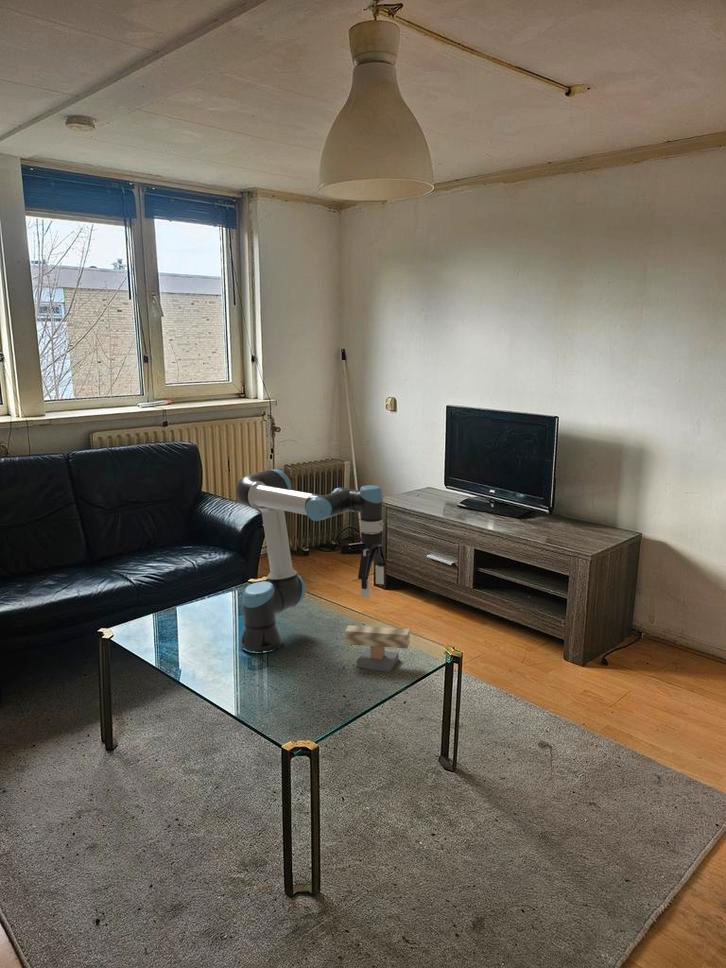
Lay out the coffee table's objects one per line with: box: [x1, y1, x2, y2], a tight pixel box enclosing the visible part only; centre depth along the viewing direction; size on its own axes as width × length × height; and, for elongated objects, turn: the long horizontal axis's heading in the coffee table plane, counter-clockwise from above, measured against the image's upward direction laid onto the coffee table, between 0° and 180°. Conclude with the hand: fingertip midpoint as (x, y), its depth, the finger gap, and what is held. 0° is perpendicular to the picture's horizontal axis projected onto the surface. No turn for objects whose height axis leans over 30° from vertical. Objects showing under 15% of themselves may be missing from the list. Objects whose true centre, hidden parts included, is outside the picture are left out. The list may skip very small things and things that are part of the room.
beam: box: [344, 624, 411, 650], centre depth 240 cm, size 22×5×5 cm, turn 78°
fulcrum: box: [356, 646, 399, 673], centre depth 241 cm, size 12×10×8 cm
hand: (372, 590), depth 238 cm, fingers open, 13 cm apart
